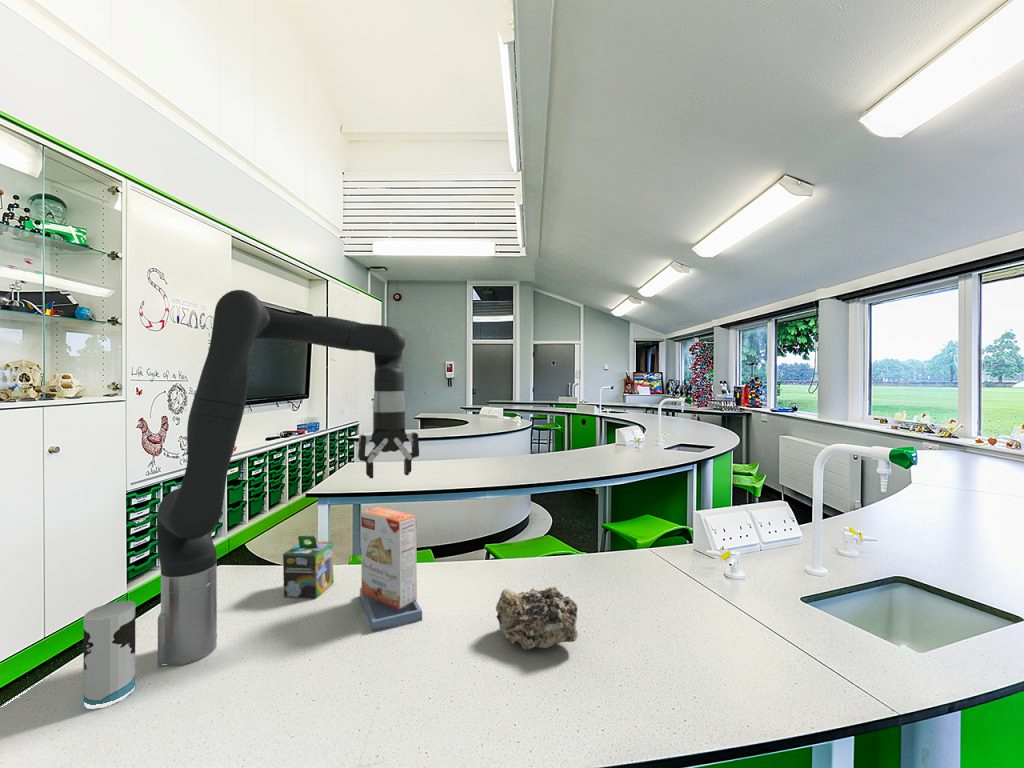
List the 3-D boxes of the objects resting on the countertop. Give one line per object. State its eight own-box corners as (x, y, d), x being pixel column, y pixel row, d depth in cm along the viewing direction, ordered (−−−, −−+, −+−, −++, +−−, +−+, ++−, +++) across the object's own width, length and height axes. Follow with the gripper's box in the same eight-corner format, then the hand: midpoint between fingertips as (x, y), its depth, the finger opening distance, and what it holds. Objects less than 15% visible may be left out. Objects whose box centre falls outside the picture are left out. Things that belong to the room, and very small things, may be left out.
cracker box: (359, 595, 111) (359, 510, 111) (379, 586, 116) (379, 505, 116) (398, 611, 103) (398, 520, 103) (417, 601, 108) (417, 514, 108)
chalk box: (334, 583, 122) (334, 529, 122) (316, 599, 113) (316, 541, 113) (302, 582, 123) (302, 528, 123) (281, 597, 114) (281, 540, 114)
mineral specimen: (576, 663, 87) (576, 612, 87) (488, 652, 91) (488, 603, 91) (580, 621, 102) (580, 578, 102) (504, 613, 106) (504, 571, 106)
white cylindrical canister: (144, 681, 82) (144, 599, 82) (115, 708, 75) (115, 619, 75) (104, 684, 81) (104, 601, 81) (72, 711, 74) (72, 621, 74)
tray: (372, 632, 98) (372, 622, 98) (359, 596, 115) (359, 587, 115) (422, 620, 103) (422, 610, 103) (403, 587, 120) (403, 579, 120)
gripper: (361, 411, 102) (361, 482, 102) (422, 410, 109) (422, 476, 109) (356, 409, 109) (356, 476, 109) (414, 408, 115) (414, 471, 115)
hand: (389, 476), depth 109 cm, fingers open, 8 cm apart
